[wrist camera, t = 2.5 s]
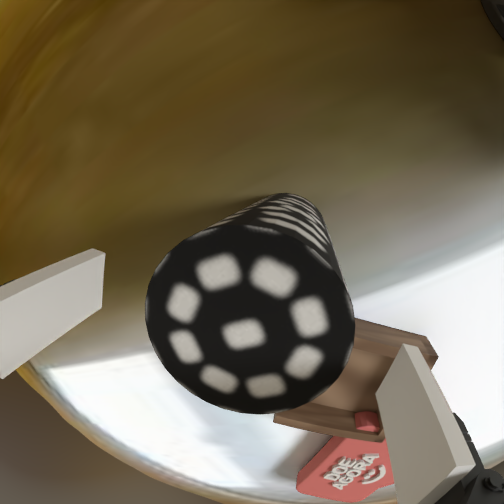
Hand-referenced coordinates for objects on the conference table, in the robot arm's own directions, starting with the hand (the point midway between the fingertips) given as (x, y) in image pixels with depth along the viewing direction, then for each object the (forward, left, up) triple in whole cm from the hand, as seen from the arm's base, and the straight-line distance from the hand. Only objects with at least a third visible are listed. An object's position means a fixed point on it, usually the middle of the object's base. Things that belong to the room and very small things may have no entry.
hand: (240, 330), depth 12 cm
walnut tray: (+13, +12, -20) cm, 26 cm away
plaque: (+27, +21, -19) cm, 39 cm away
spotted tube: (0, 0, -20) cm, 20 cm away
